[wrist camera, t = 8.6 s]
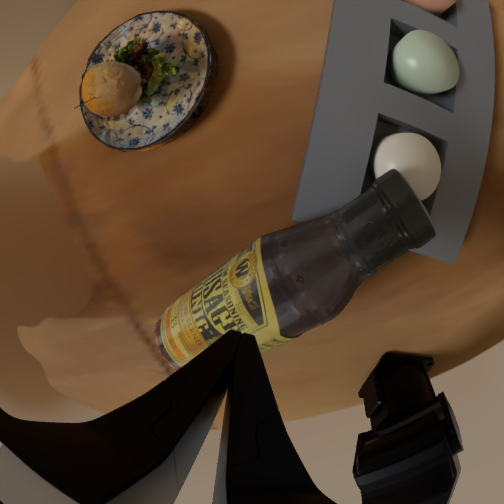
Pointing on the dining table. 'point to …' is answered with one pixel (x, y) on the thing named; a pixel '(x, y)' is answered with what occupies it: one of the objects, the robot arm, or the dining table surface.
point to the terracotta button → (432, 5)
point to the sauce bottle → (297, 273)
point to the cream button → (407, 160)
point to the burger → (147, 81)
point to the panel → (400, 112)
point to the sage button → (423, 64)
